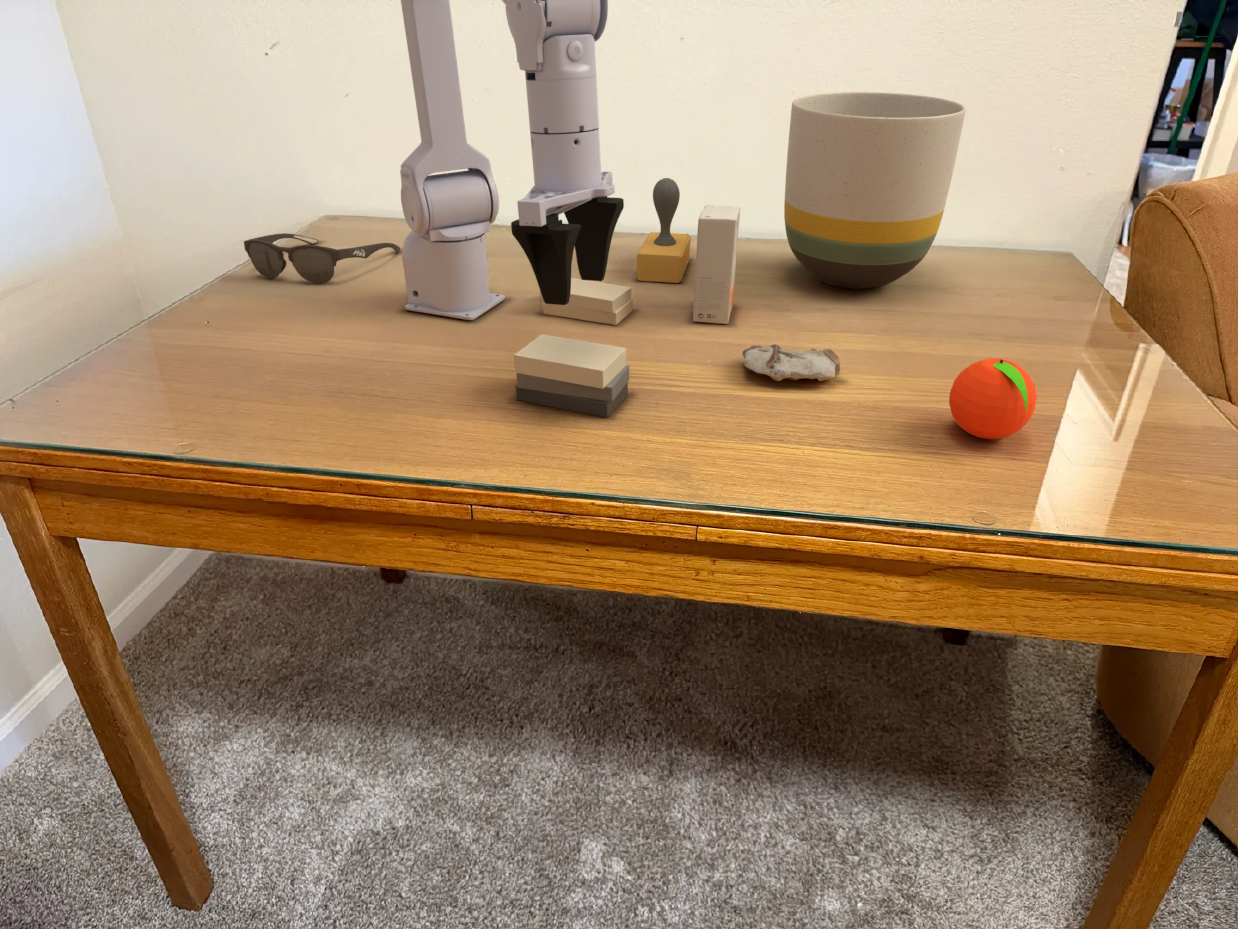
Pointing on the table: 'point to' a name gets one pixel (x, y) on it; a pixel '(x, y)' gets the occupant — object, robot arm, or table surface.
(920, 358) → the table surface
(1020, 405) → the clementine
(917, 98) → the planter
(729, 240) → the cosmetic box
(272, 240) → the sunglasses
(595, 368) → the cream rectangular block
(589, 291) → the white books
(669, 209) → the rubber stamp
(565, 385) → the grey books
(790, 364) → the stone
